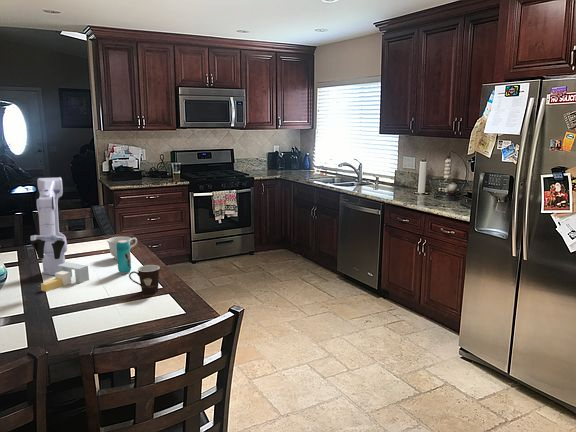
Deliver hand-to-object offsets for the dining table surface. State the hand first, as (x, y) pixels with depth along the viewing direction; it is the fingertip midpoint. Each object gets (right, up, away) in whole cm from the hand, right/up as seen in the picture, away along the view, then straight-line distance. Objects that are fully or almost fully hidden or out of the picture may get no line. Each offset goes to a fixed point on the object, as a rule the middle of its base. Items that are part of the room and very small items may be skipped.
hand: (49, 258), depth 190 cm
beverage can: (+21, -9, +29) cm, 36 cm away
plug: (-2, -13, +10) cm, 16 cm away
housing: (+2, -11, +18) cm, 21 cm away
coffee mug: (+38, -14, +6) cm, 41 cm away
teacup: (+12, -4, +51) cm, 52 cm away
